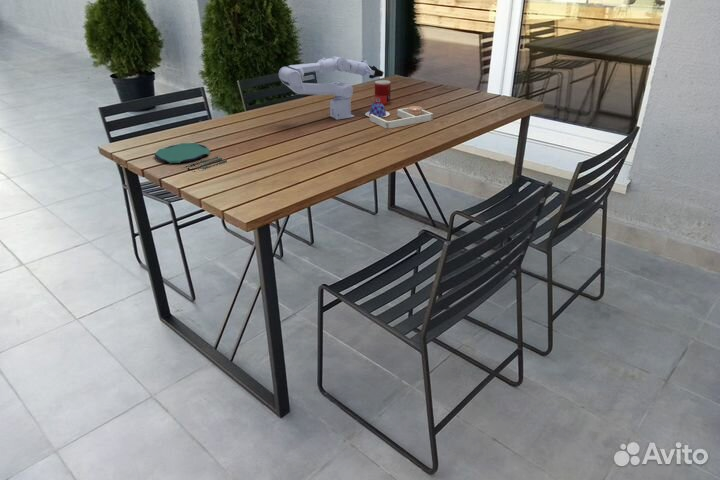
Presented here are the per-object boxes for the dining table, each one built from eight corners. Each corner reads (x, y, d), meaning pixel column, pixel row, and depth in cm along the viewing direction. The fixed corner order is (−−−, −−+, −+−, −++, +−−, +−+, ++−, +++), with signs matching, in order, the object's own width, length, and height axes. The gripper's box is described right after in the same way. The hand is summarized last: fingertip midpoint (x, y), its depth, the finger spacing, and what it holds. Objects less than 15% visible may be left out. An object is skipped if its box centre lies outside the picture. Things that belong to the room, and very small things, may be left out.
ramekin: (412, 120, 252) (413, 110, 249) (404, 117, 257) (405, 107, 254) (424, 118, 255) (425, 108, 252) (416, 115, 260) (416, 105, 257)
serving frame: (386, 128, 241) (387, 122, 240) (369, 120, 253) (369, 114, 252) (432, 120, 252) (433, 113, 251) (414, 112, 264) (414, 106, 262)
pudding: (368, 120, 255) (368, 109, 253) (362, 113, 265) (361, 102, 263) (393, 117, 258) (393, 106, 255) (385, 111, 268) (385, 100, 265)
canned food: (390, 105, 276) (390, 83, 271) (374, 105, 276) (374, 83, 271) (390, 101, 283) (390, 79, 277) (374, 101, 283) (374, 80, 278)
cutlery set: (192, 144, 228) (191, 139, 227) (232, 163, 209) (231, 157, 208) (147, 156, 216) (146, 151, 215) (185, 177, 197) (184, 171, 196)
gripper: (365, 62, 246) (389, 67, 254) (349, 55, 256) (372, 60, 264) (361, 77, 249) (384, 82, 257) (345, 70, 259) (368, 74, 267)
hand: (378, 72), depth 261 cm, fingers open, 7 cm apart
